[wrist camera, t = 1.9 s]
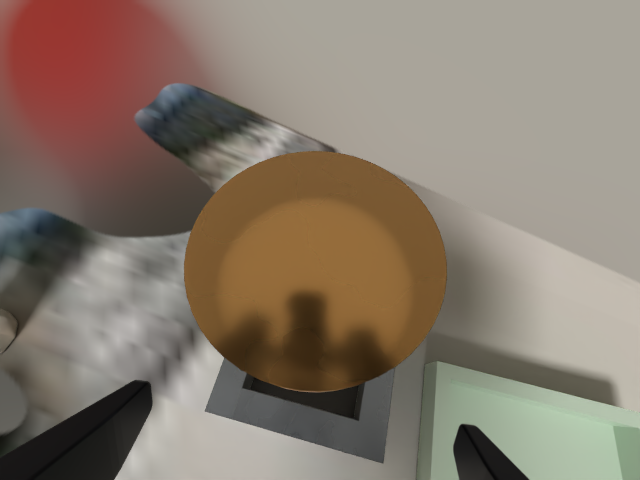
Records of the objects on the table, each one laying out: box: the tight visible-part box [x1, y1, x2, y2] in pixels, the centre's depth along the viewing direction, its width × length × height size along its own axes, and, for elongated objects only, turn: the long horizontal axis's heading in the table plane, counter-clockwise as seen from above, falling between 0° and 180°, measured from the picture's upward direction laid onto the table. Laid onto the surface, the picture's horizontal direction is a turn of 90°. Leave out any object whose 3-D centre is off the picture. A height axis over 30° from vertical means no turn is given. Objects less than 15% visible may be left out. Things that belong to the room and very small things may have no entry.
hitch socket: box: [205, 358, 395, 463], centre depth 19 cm, size 10×10×2 cm
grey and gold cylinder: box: [184, 151, 447, 392], centre depth 13 cm, size 6×6×15 cm
